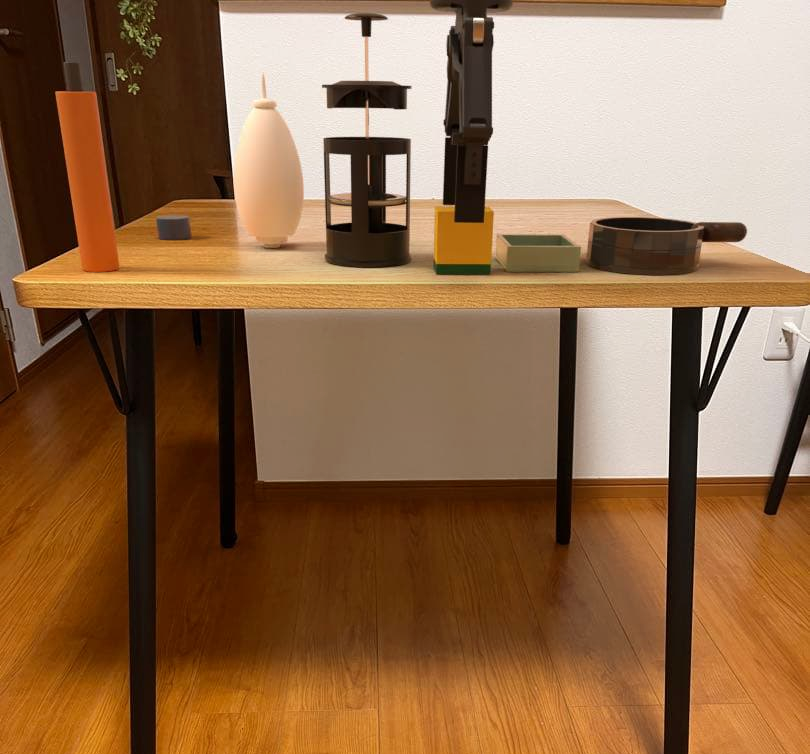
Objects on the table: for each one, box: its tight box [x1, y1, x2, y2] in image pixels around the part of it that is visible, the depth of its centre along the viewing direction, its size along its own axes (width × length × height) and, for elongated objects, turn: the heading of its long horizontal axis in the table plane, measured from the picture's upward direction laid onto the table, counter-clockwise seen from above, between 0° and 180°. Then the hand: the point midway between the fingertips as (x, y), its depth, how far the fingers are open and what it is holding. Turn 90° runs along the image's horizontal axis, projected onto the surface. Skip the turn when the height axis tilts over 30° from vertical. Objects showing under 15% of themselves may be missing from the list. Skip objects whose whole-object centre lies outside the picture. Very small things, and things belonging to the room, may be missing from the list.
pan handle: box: [691, 221, 748, 243], centre depth 93 cm, size 6×2×2 cm, turn 92°
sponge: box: [433, 206, 495, 275], centre depth 88 cm, size 6×4×6 cm
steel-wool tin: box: [155, 214, 192, 241], centre depth 108 cm, size 4×4×2 cm
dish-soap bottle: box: [55, 61, 120, 273], centre depth 85 cm, size 4×4×18 cm
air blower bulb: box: [233, 72, 305, 249], centre depth 98 cm, size 8×8×18 cm
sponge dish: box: [494, 233, 582, 273], centre depth 93 cm, size 8×8×2 cm
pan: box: [586, 216, 704, 276], centre depth 93 cm, size 12×12×4 cm
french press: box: [321, 12, 412, 268], centre depth 90 cm, size 12×9×23 cm
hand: (461, 213), depth 87 cm, fingers open, 13 cm apart
